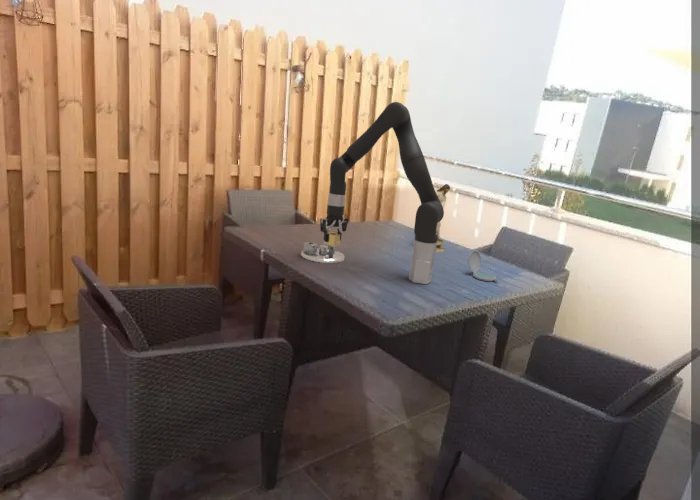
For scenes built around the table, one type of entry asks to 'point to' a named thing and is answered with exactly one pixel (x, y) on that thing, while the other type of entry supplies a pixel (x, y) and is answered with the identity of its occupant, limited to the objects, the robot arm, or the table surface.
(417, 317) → the table surface
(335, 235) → the planet gear
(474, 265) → the pocket watch
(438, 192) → the statue
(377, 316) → the table surface
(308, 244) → the carrier
